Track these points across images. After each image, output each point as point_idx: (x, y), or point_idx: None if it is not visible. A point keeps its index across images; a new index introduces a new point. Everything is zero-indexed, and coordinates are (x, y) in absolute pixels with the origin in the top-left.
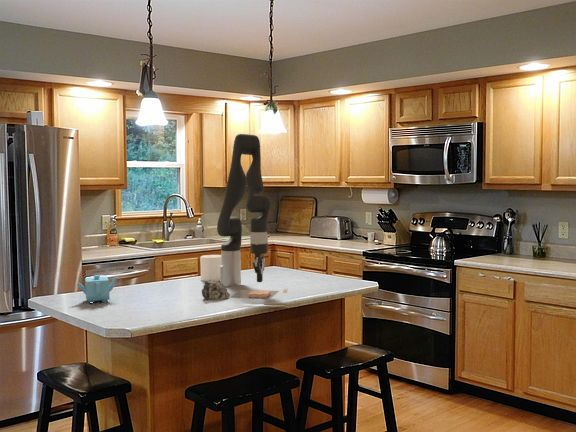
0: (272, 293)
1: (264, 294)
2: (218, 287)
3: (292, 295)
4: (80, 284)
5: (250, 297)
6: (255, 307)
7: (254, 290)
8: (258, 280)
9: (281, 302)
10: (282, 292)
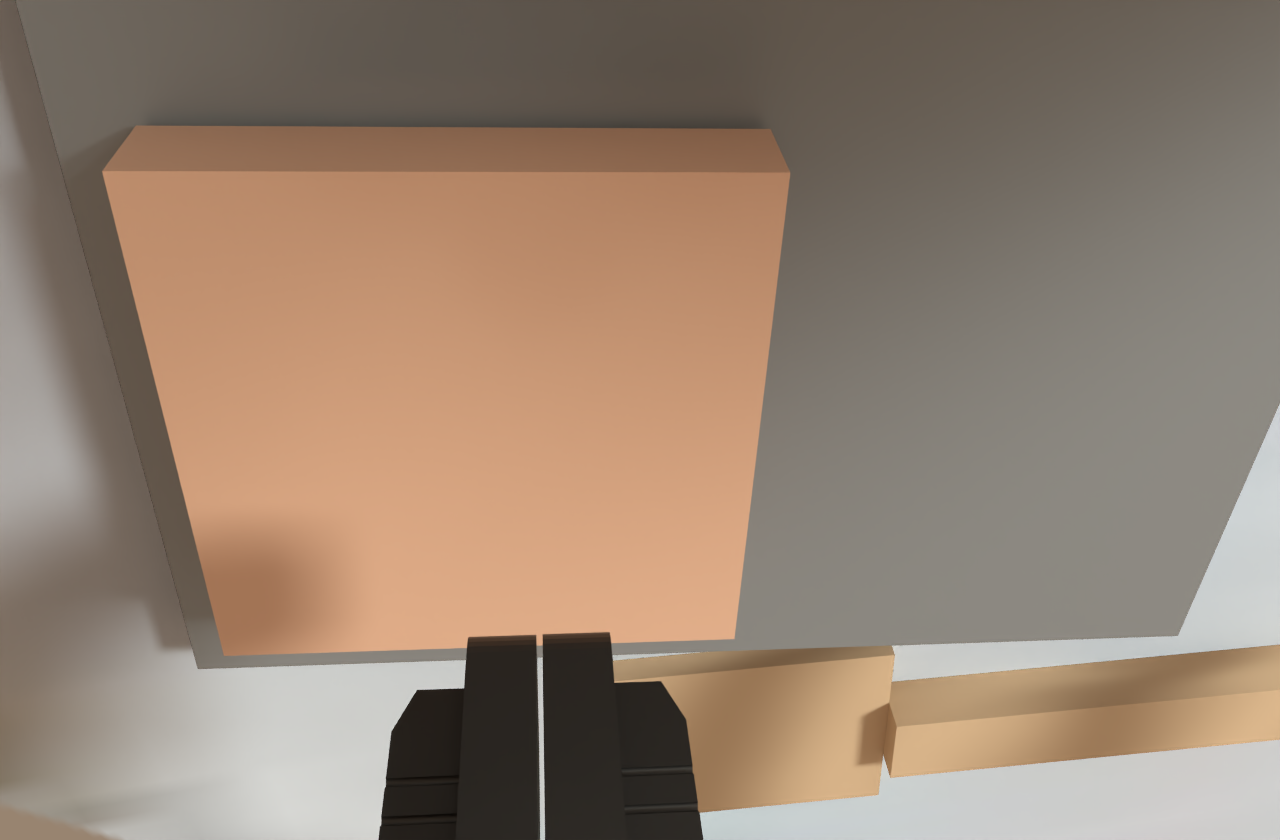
0: (853, 579)
1: (218, 617)
2: None
3: (874, 821)
4: None
5: None
6: None
7: (776, 231)
8: (407, 744)
9: (162, 808)
10: (948, 727)
